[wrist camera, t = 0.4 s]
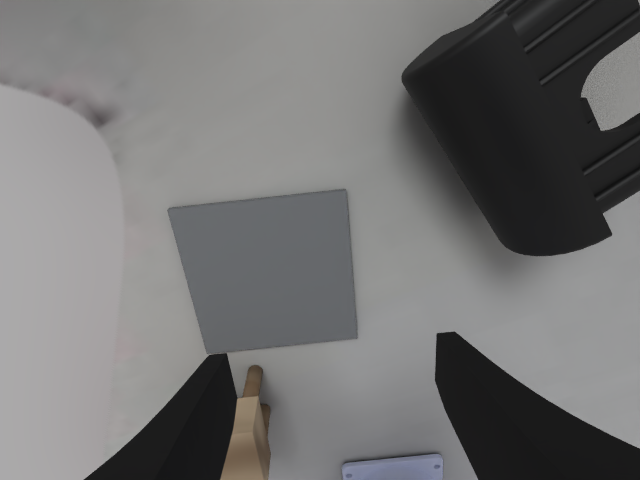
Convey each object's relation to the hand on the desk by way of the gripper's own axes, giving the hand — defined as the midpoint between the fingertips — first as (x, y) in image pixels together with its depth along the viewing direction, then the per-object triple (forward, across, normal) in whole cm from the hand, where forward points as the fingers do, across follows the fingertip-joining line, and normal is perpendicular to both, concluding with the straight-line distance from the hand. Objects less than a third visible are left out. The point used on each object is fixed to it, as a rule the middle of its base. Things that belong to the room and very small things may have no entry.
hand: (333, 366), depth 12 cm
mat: (+10, +3, +1) cm, 11 cm away
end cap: (+10, -10, -7) cm, 16 cm away
